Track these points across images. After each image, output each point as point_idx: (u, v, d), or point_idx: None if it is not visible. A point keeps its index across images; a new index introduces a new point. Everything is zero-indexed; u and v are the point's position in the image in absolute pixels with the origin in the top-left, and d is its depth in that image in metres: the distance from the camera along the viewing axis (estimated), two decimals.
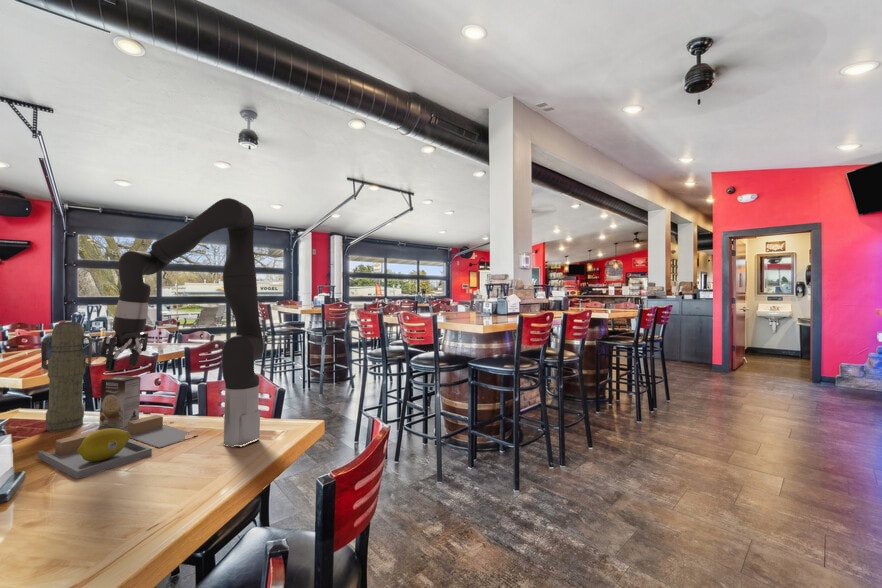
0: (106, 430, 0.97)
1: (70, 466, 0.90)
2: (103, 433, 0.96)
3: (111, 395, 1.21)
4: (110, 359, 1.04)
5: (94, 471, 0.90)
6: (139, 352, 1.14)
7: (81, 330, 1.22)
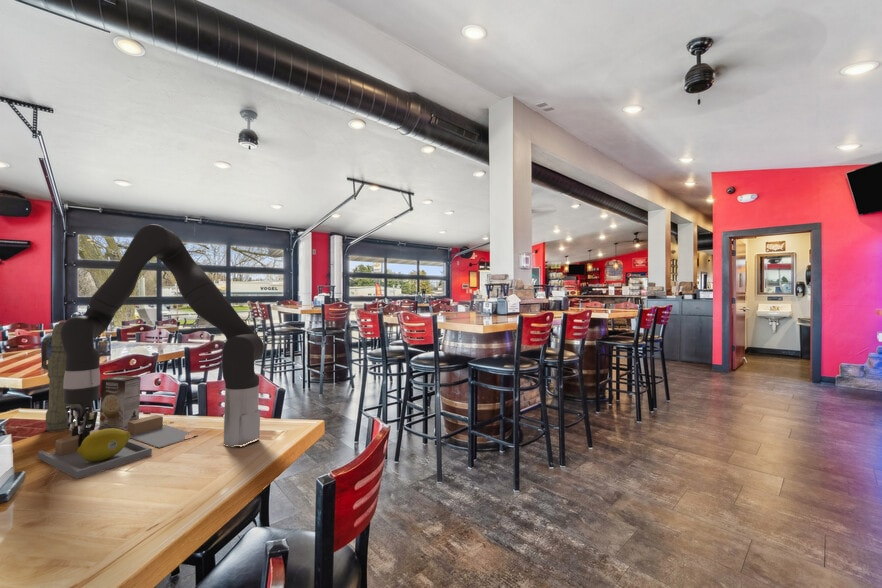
0: (106, 430, 0.97)
1: (70, 466, 0.90)
2: (103, 433, 0.96)
3: (111, 395, 1.21)
4: (88, 433, 1.03)
5: (94, 471, 0.90)
6: None
7: None
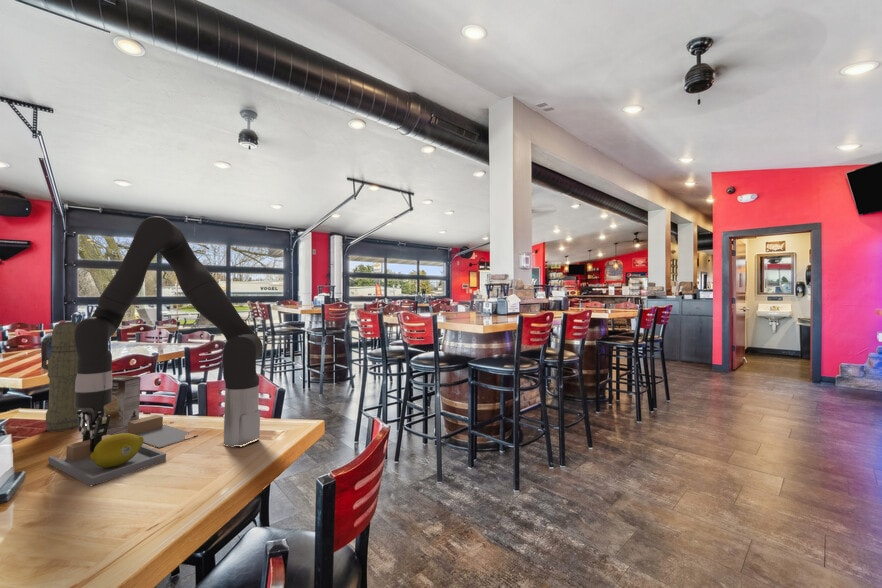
0: (119, 435, 0.94)
1: (83, 473, 0.87)
2: (117, 438, 0.93)
3: None
4: (100, 437, 0.99)
5: (108, 478, 0.87)
6: None
7: None
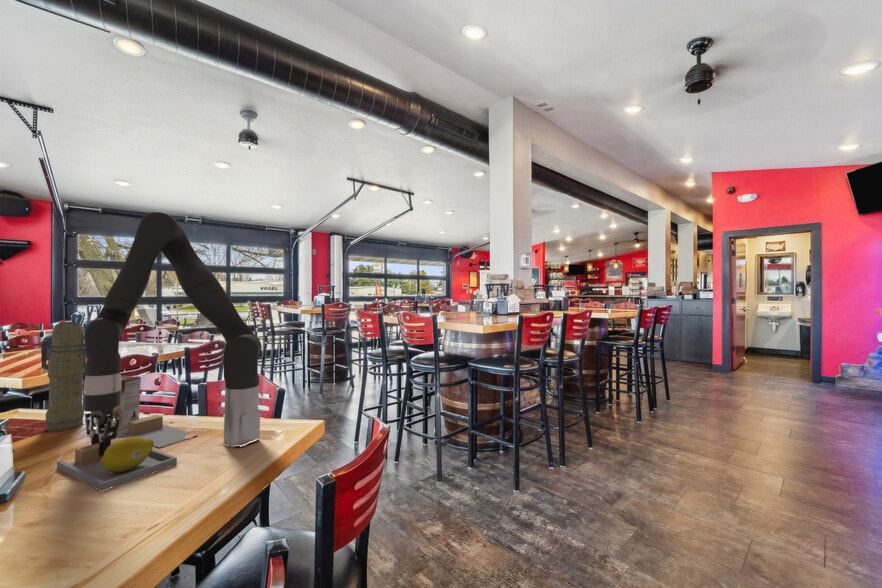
0: (129, 439, 0.92)
1: (93, 478, 0.84)
2: (127, 442, 0.90)
3: None
4: (109, 441, 0.97)
5: (119, 483, 0.85)
6: None
7: (81, 330, 1.22)
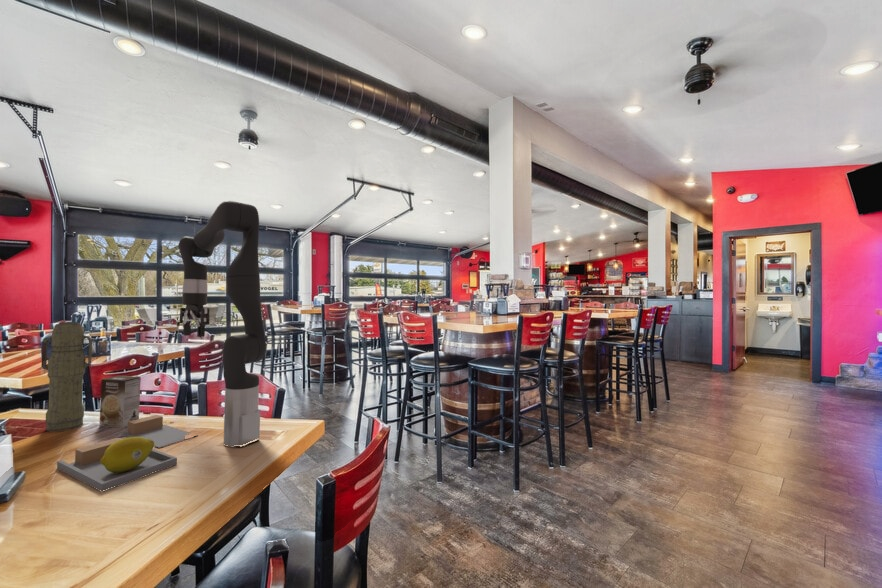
0: (130, 439, 0.92)
1: (93, 478, 0.84)
2: (127, 442, 0.90)
3: (111, 395, 1.21)
4: (204, 326, 1.30)
5: (119, 483, 0.85)
6: None
7: (81, 330, 1.22)
